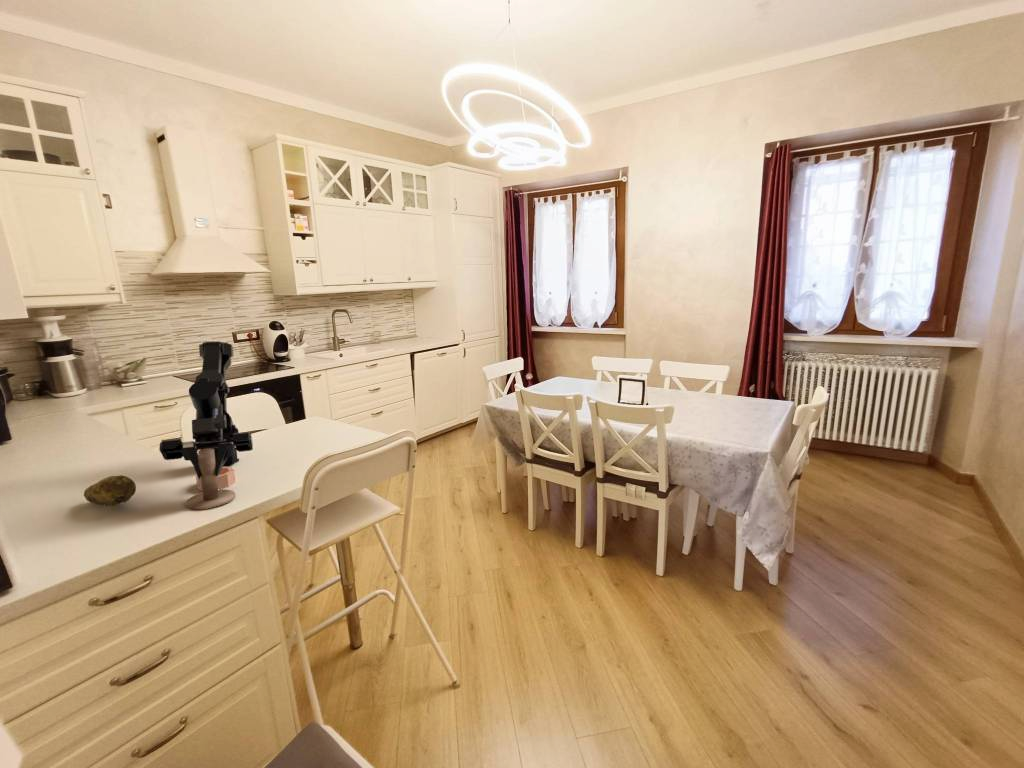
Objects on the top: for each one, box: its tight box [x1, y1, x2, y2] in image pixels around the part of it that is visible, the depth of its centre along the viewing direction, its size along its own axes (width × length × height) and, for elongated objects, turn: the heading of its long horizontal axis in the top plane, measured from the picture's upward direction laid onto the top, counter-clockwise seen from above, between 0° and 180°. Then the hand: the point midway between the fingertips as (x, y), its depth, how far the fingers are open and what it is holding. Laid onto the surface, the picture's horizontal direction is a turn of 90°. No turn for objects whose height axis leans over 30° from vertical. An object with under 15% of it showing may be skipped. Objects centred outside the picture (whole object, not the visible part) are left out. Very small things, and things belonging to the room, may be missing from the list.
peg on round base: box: [185, 448, 236, 510], centre depth 109 cm, size 10×10×13 cm
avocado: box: [83, 474, 137, 506], centre depth 105 cm, size 8×13×8 cm, turn 51°
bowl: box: [195, 466, 236, 491], centre depth 119 cm, size 8×8×4 cm
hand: (208, 476), depth 107 cm, fingers closed on peg on round base, 3 cm apart
